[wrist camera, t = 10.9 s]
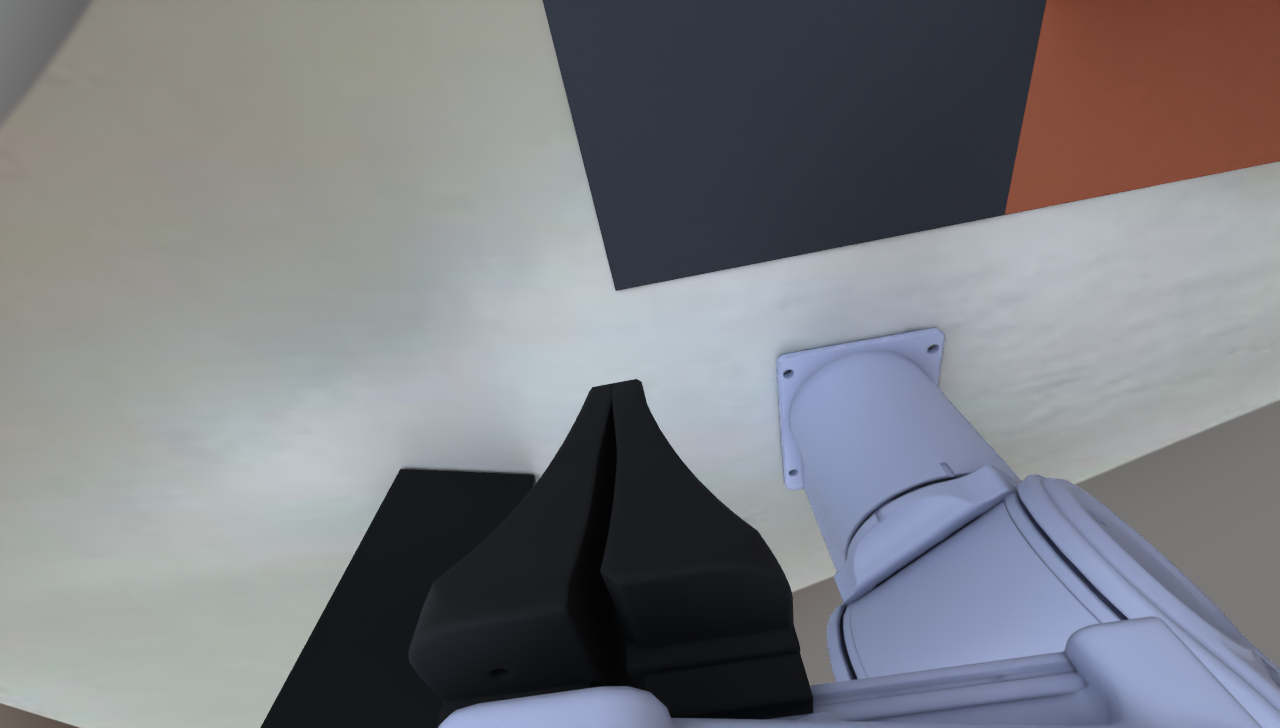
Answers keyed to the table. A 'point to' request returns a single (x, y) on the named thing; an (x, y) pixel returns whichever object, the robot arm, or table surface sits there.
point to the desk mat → (894, 114)
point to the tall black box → (392, 603)
